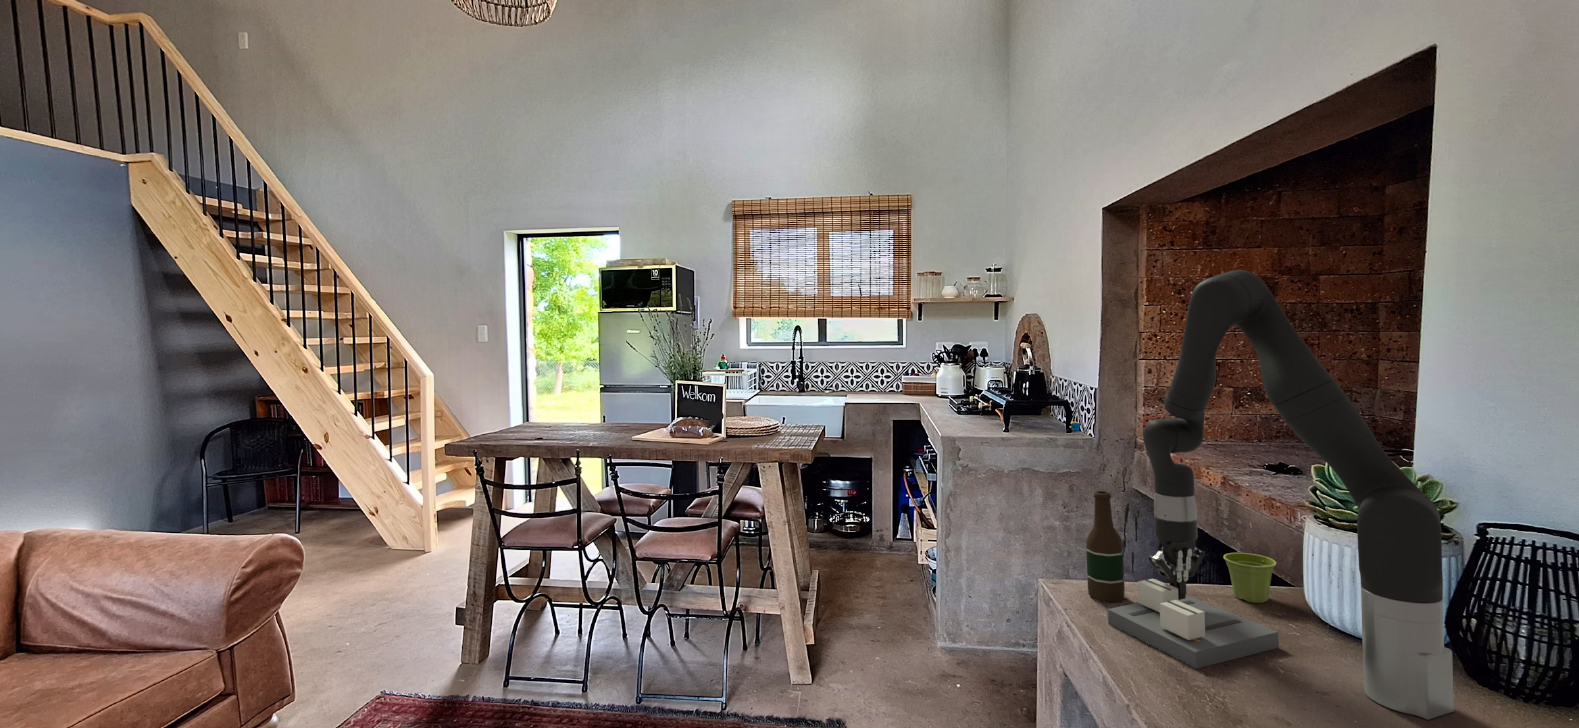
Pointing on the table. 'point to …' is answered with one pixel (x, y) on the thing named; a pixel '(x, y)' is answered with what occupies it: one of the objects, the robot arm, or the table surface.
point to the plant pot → (1250, 576)
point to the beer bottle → (1104, 554)
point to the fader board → (1219, 644)
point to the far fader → (1155, 593)
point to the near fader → (1182, 619)
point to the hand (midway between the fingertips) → (1178, 598)
